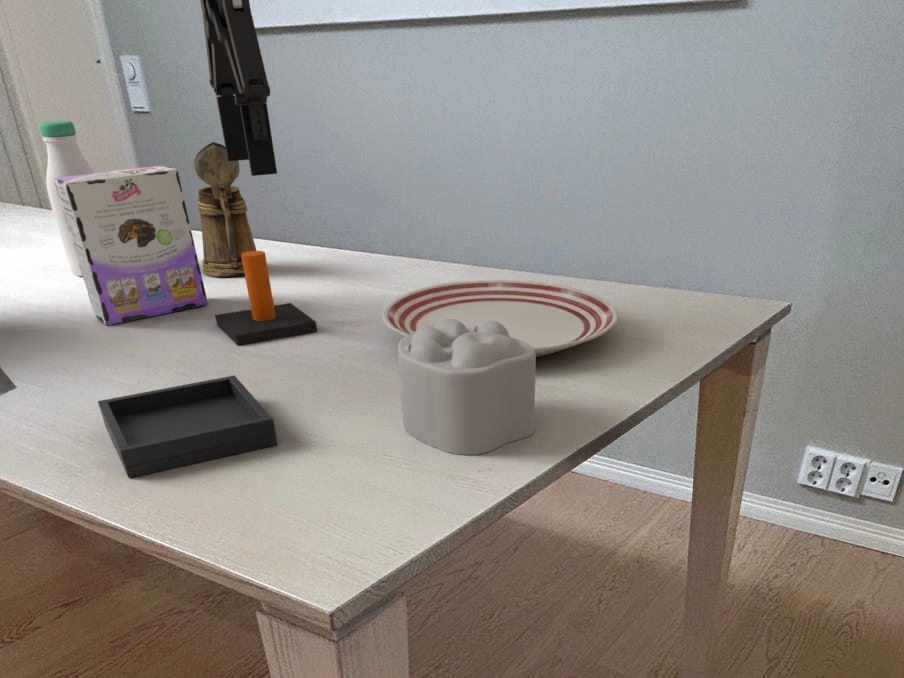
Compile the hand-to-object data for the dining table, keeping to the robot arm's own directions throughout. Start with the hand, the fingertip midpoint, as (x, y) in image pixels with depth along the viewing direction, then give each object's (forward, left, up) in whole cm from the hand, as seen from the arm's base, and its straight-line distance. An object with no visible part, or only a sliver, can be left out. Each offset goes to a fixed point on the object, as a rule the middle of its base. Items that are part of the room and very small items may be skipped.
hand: (251, 167), depth 95 cm
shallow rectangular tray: (+32, -18, -17) cm, 40 cm away
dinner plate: (+22, +21, -17) cm, 35 cm away
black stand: (+3, -2, -17) cm, 18 cm away
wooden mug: (-27, +2, -17) cm, 33 cm away
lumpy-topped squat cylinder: (+43, +5, -17) cm, 46 cm away
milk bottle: (-41, -16, -17) cm, 48 cm away
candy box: (-13, -13, -17) cm, 26 cm away
